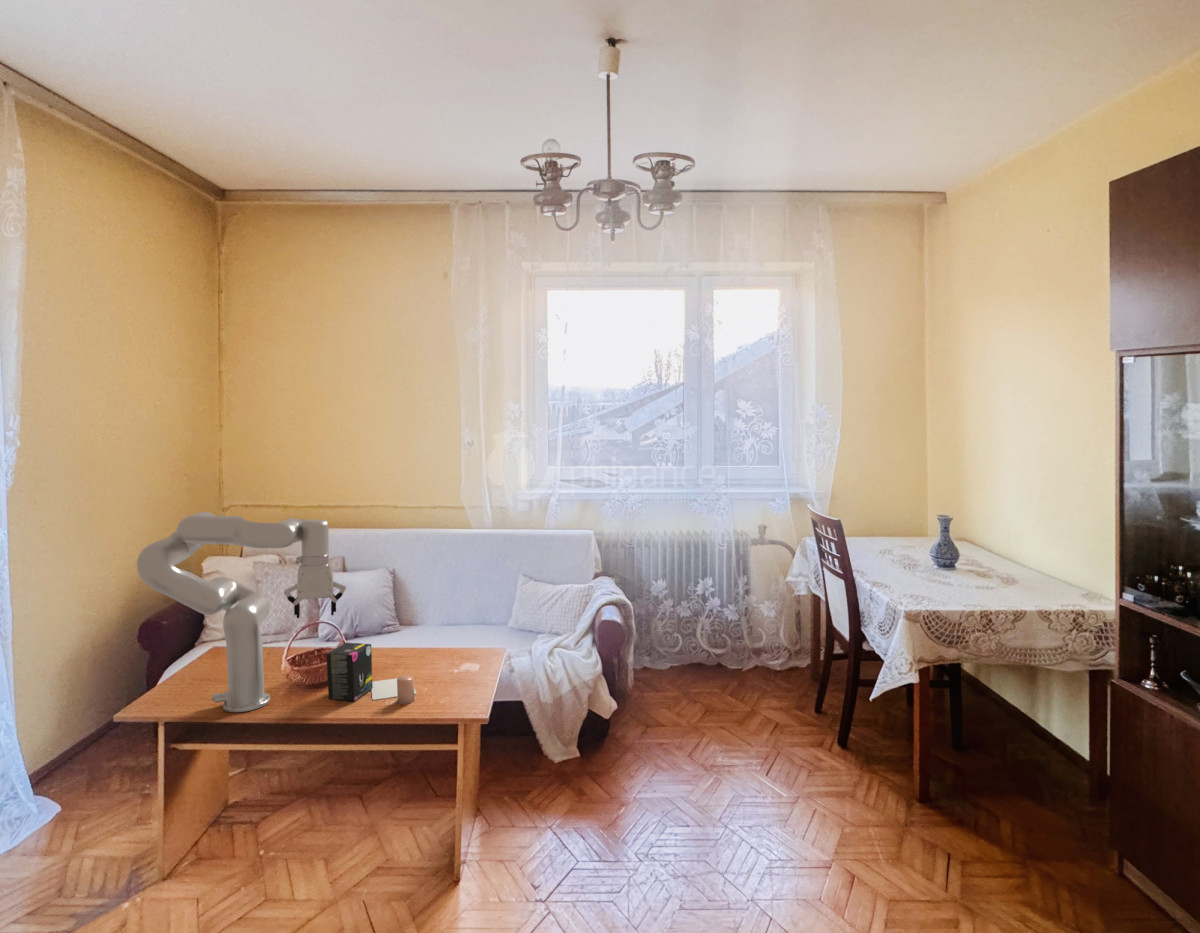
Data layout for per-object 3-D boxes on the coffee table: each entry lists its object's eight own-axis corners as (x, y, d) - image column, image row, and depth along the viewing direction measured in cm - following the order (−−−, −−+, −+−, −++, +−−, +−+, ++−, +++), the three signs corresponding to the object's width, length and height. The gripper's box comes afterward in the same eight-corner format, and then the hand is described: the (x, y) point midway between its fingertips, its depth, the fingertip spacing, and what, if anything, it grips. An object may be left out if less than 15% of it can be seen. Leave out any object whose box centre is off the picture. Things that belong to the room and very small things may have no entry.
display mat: (372, 700, 201) (372, 699, 201) (370, 682, 215) (370, 681, 215) (416, 694, 206) (416, 693, 206) (411, 676, 220) (411, 676, 220)
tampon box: (354, 702, 199) (352, 655, 198) (327, 700, 201) (325, 653, 200) (374, 687, 210) (372, 642, 209) (348, 685, 212) (346, 641, 211)
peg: (398, 705, 198) (397, 682, 197) (396, 698, 202) (396, 676, 202) (415, 702, 199) (414, 680, 199) (413, 696, 204) (413, 674, 204)
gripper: (282, 564, 193) (283, 621, 194) (345, 561, 199) (345, 616, 200) (284, 559, 200) (285, 614, 201) (345, 556, 206) (345, 610, 207)
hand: (315, 615), depth 201 cm, fingers open, 9 cm apart
